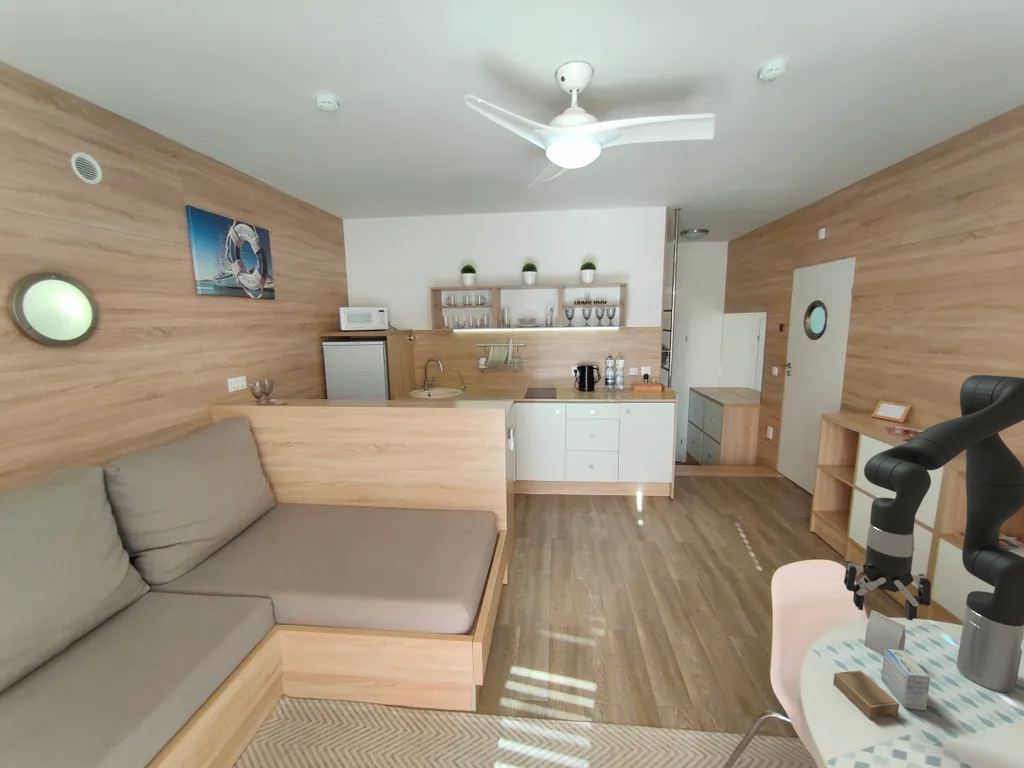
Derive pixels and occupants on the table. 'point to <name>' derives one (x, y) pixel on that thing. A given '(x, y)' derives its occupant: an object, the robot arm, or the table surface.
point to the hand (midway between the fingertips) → (883, 612)
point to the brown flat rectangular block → (866, 694)
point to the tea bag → (884, 633)
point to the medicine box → (905, 679)
